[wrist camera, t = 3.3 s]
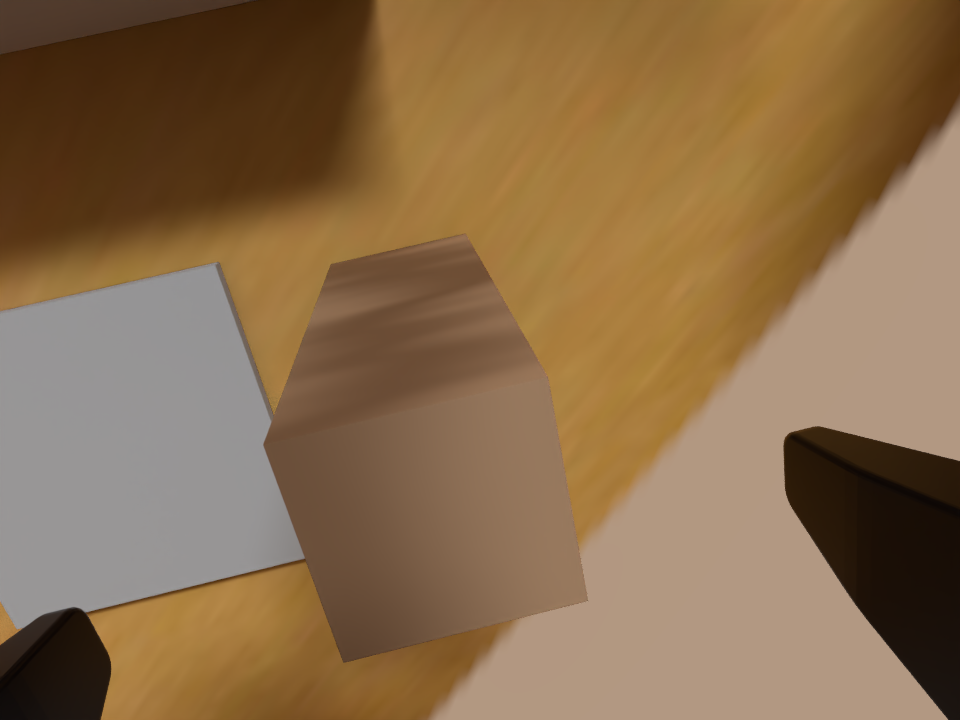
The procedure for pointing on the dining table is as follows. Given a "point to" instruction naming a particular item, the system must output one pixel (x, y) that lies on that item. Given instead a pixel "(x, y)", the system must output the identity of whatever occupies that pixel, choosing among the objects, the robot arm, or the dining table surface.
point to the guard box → (86, 18)
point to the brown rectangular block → (423, 455)
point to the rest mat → (132, 447)
